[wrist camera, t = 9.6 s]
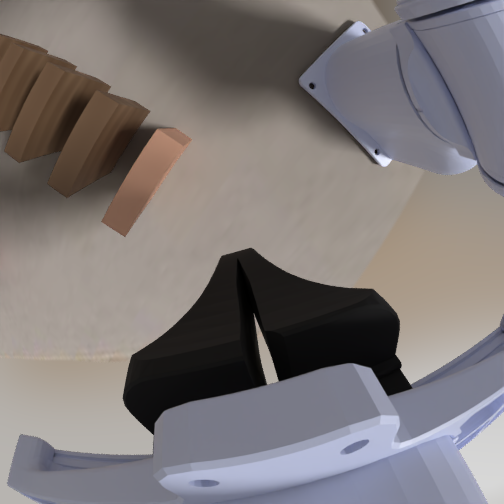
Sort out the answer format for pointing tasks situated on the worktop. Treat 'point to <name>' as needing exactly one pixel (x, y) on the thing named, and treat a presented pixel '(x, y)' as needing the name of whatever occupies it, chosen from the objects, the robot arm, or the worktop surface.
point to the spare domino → (145, 178)
